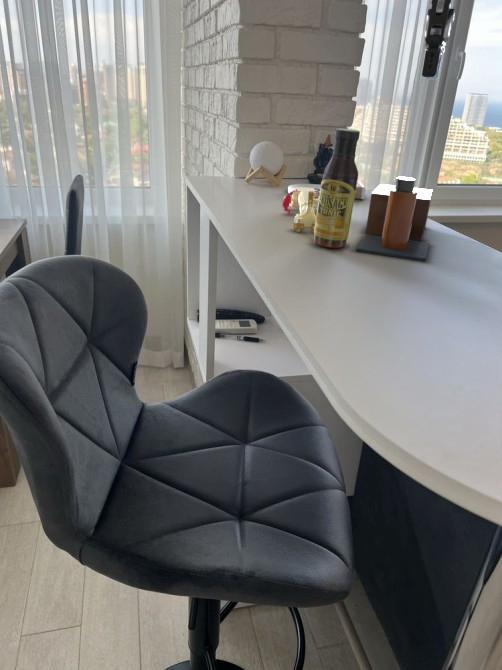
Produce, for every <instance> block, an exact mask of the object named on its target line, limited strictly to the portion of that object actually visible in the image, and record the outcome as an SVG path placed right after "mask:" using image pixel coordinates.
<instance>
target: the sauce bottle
mask: <svg viewBox="0 0 502 670" xmlns="http://www.w3.org/2000/svg"><path fill="white" fill-rule="evenodd" d="M360 135H361V131H360V130H356V129H351V128H336V129H335V132H334V139H335V140H334V146H333V151H332V156H331V158H330V159H329V162H328V163H327V165H326V166H325V168H324V170H323V175H322V179H321V182H320V185H321V189H320V195H319V197H318V198H319V202H318V203H317V208H316V214H315V215H316V222H315V229H314V230H313V234H314V235H313V243H314V244H316V245H317V246H320V247H323V248H329V249H340V248H344V247H345V246H346V244H347V240H348V238H349V232H350V227H351V222H352V215H353V210H354V205H355V194H356V185H357V182H358V180H359V170H358V167H357V164H356V160H355V159H356V150H357V146H358V141H359V139H360Z"/></svg>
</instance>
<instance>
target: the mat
mask: <svg viewBox="0 0 502 670" xmlns="http://www.w3.org/2000/svg"><path fill="white" fill-rule="evenodd" d="M381 239H382V236H381V235H374V234H367V233H365V235H364V236H363V238H362V240H361V241H360V242H359V244H358V246H357V247H356V250H355V251H356V252H359V253H360V252H361V253H368V254H373V255H380V256H387V257H395V258H400V259H407V260H412V261H413V260H414V261H420V262H426V260H427V256H428V251H429V247H430V242H425V241H417V240H410V239H409V241H408V246H407V248H406V249H390V248H386V247H384V246H382V245H381Z"/></svg>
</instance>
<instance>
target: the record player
mask: <svg viewBox="0 0 502 670" xmlns="http://www.w3.org/2000/svg"><path fill="white" fill-rule="evenodd" d="M294 187H306V188H314V190H317V192H316V195H315V198H319V194H318V192H319V193H320V189H321V184H315V183H295V184H290V185H288V188H287V189H288V190H287V192H288V194H290V192H292V191H293V188H294ZM365 196H366V186H365V185H364V184H363V183H362V182H361V181H357V185H356V194H355V199H356V200H364V199H365ZM355 199H354V200H355Z"/></svg>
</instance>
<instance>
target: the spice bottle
mask: <svg viewBox="0 0 502 670" xmlns="http://www.w3.org/2000/svg"><path fill="white" fill-rule="evenodd" d="M415 184H416V179H415V178H413V177H408V176H407V177H406V176H398V177H396V179H395V184H394V186H395V188H391V189H390V192H389V198H388V204H387V209H386V215H385V221H384V227H383V233H382V239H381V245H382V246H384V247H386V248H390V249H406V248H407V246H408V241H409V240H410V239H409V236H410V231H411V226H412V220H413V215H414V210H415V205H416V200H417V194H418V191H416V190H414V188H415Z"/></svg>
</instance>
